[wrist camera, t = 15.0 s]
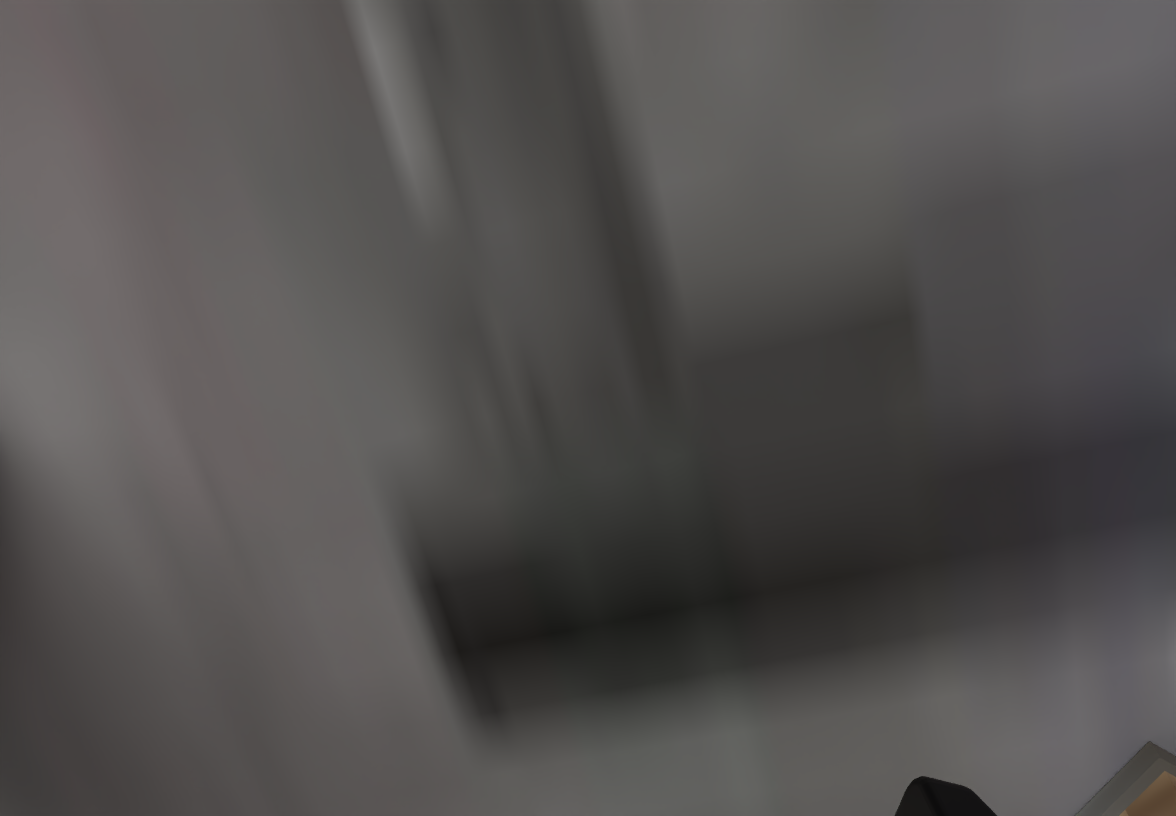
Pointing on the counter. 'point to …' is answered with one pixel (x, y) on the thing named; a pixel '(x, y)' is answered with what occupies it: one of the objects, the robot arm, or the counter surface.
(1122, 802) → the frame
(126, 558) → the counter surface
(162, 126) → the counter surface
